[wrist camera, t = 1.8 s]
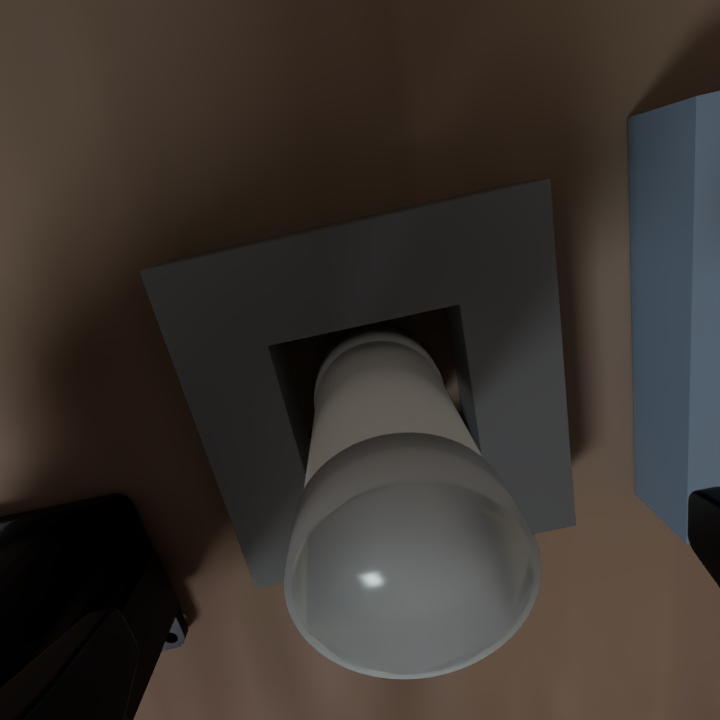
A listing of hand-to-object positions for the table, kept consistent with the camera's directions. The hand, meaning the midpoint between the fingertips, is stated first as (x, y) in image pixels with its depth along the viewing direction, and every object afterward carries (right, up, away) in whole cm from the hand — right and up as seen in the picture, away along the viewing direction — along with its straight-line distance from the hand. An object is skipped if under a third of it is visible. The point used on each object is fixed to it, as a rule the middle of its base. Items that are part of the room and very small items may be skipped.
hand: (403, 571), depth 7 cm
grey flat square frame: (0, +2, +7) cm, 8 cm away
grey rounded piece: (0, +2, +7) cm, 8 cm away
